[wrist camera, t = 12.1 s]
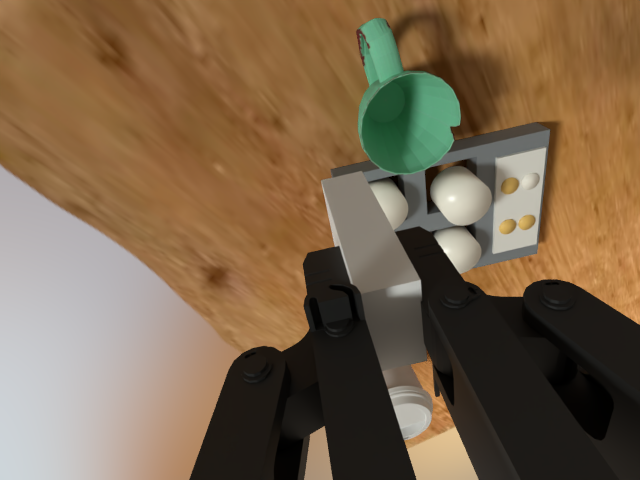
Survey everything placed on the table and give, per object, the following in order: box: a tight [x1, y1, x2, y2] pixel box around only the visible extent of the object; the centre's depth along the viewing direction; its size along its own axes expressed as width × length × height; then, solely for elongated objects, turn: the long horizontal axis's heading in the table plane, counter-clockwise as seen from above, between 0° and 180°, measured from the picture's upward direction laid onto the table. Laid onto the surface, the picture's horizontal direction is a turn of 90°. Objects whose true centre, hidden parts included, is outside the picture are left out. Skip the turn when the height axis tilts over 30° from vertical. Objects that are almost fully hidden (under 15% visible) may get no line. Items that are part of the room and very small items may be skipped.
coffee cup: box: [382, 365, 433, 440], centre depth 62 cm, size 10×10×15 cm
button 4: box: [430, 166, 492, 226], centre depth 49 cm, size 6×6×4 cm
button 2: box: [368, 177, 408, 230], centre depth 51 cm, size 6×6×4 cm
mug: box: [356, 18, 461, 175], centre depth 43 cm, size 15×10×10 cm
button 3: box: [431, 225, 481, 274], centre depth 56 cm, size 6×6×4 cm
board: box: [330, 122, 550, 269], centre depth 55 cm, size 18×26×4 cm
